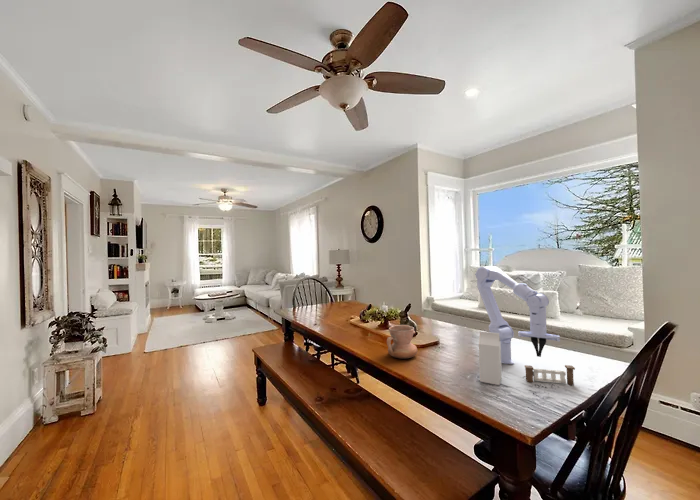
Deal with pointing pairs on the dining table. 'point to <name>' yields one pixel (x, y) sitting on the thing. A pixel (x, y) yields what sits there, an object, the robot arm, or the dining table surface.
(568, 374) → the hinge post
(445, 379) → the dining table surface
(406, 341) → the ceramic jug
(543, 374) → the gate
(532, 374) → the post
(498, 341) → the milk carton
